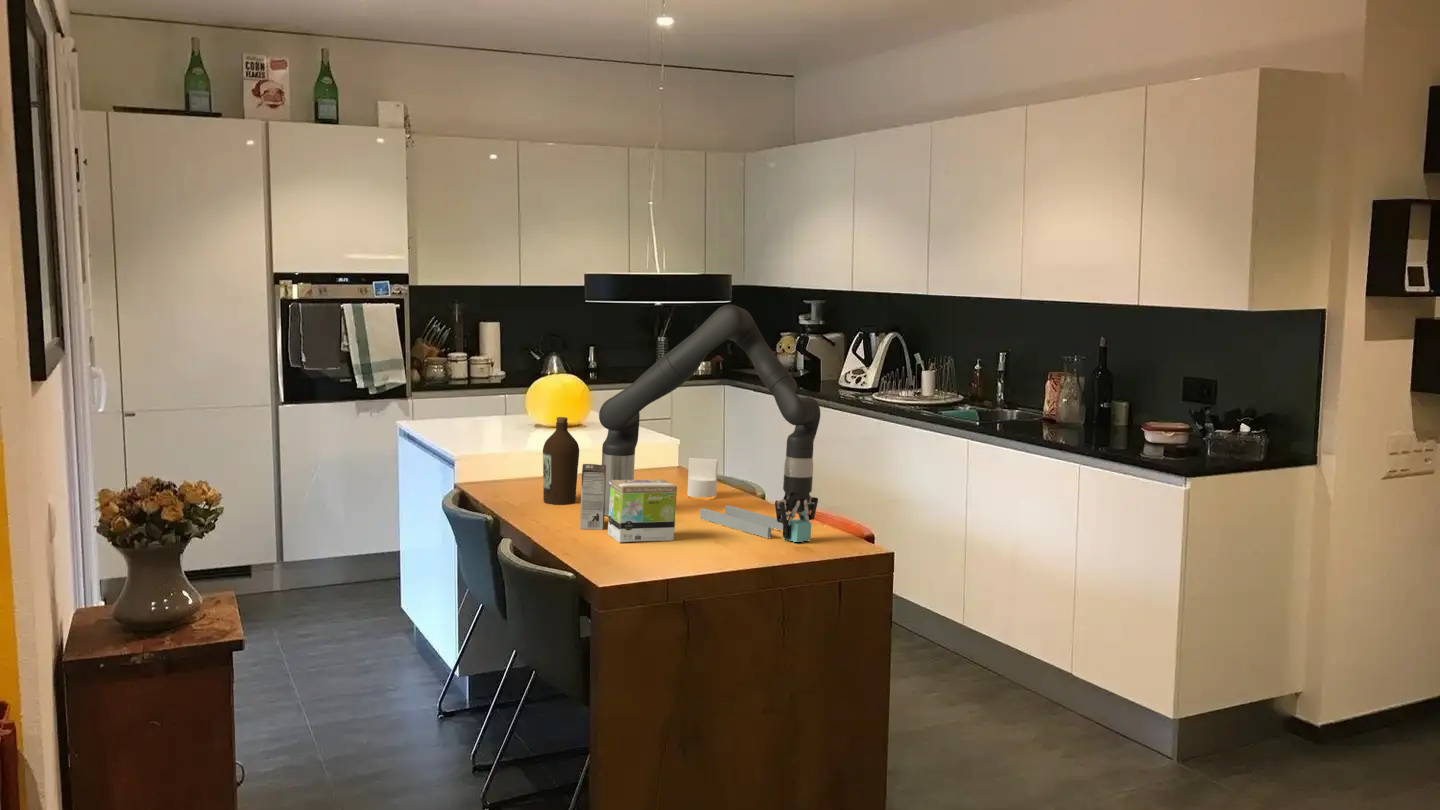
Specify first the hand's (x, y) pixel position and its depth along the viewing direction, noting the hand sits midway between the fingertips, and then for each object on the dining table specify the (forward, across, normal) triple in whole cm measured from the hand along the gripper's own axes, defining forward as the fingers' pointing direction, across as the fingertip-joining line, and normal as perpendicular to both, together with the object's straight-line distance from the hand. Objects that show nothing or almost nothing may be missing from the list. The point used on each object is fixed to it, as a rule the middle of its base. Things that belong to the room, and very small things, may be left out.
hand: (794, 537), depth 301 cm
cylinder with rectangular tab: (+1, -16, -58) cm, 60 cm away
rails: (+1, 0, -19) cm, 19 cm away
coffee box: (+1, +37, -40) cm, 54 cm away
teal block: (+1, 0, +1) cm, 1 cm away
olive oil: (+1, +27, -72) cm, 77 cm away
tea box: (+1, +34, -22) cm, 40 cm away
